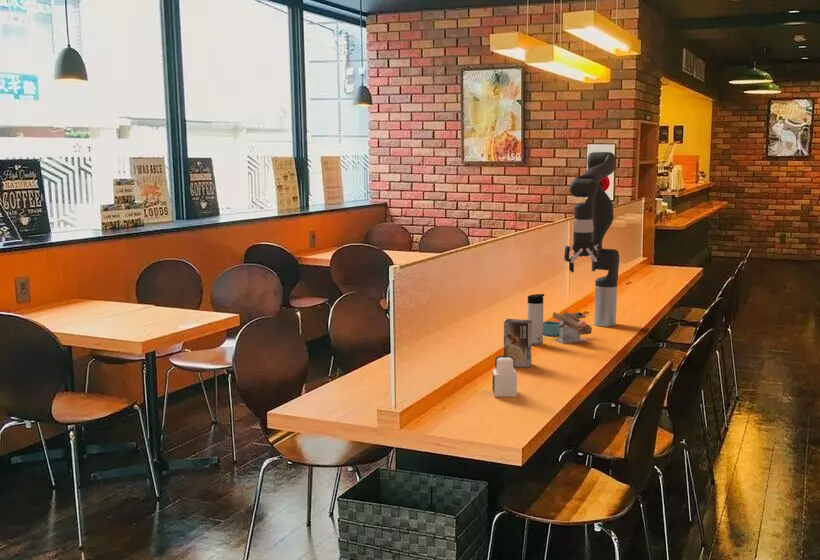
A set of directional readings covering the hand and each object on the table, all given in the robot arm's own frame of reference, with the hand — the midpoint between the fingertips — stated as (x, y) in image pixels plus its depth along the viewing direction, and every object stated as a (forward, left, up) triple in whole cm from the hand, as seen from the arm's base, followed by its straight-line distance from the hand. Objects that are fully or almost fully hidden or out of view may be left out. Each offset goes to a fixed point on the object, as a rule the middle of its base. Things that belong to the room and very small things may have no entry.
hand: (582, 271), depth 336 cm
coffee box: (+45, -7, -29) cm, 53 cm away
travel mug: (+12, -15, -29) cm, 34 cm away
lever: (-3, -2, -22) cm, 23 cm away
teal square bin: (-8, -16, -29) cm, 34 cm away
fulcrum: (0, -5, -28) cm, 29 cm away
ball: (+4, +2, -20) cm, 21 cm away
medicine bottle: (+80, +5, -29) cm, 85 cm away
